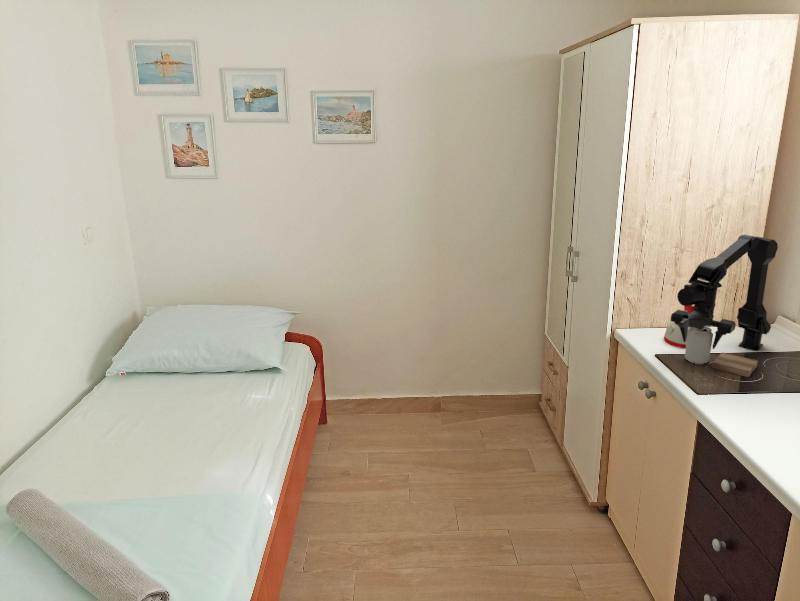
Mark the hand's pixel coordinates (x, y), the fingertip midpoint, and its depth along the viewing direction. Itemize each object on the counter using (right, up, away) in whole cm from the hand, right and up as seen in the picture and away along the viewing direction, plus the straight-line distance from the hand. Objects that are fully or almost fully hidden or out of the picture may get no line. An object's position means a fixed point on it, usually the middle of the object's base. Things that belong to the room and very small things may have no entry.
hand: (698, 345), depth 202 cm
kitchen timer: (+4, 0, +18) cm, 18 cm away
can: (0, -6, +2) cm, 6 cm away
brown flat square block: (+10, -8, -3) cm, 13 cm away
